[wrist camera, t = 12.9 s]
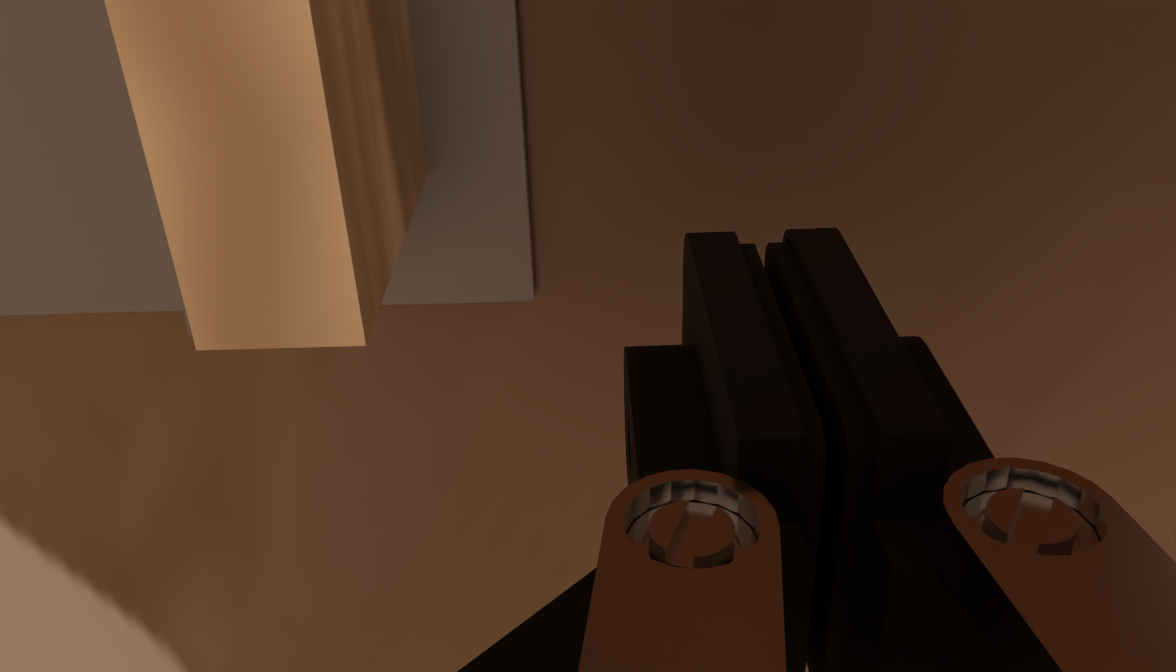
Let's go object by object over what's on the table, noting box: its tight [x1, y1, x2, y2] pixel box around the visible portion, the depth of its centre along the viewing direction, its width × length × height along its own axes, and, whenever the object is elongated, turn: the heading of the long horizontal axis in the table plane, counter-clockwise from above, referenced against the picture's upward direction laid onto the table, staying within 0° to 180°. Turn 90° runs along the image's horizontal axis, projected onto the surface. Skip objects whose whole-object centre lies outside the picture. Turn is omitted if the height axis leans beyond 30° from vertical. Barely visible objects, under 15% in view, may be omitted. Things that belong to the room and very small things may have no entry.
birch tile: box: [100, 0, 427, 350], centre depth 20 cm, size 3×7×8 cm, turn 2°
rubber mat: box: [0, 0, 535, 315], centre depth 24 cm, size 18×14×1 cm
